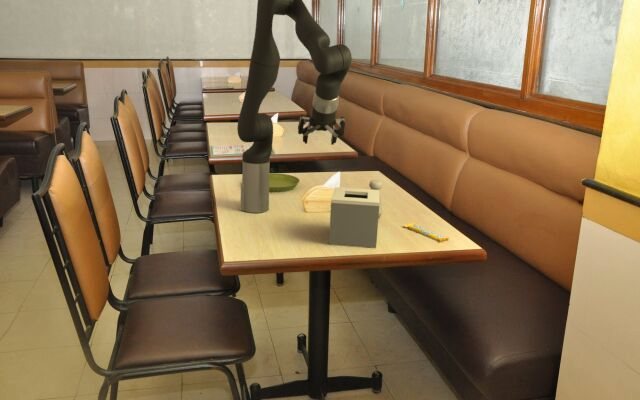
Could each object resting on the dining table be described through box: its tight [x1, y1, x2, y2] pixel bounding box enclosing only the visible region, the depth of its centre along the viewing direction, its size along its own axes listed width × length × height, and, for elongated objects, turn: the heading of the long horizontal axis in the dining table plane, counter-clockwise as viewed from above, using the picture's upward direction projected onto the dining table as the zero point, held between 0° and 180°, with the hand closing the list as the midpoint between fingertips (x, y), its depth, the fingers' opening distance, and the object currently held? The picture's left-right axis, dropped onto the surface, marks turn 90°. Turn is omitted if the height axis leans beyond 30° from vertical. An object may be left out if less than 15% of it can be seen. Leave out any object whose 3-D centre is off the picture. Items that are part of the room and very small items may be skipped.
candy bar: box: [403, 222, 450, 243], centre depth 187 cm, size 17×4×2 cm, turn 35°
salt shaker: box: [368, 179, 383, 220], centre depth 199 cm, size 6×6×13 cm
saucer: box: [269, 172, 300, 193], centre depth 234 cm, size 21×21×3 cm
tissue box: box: [328, 186, 380, 249], centre depth 179 cm, size 14×14×14 cm
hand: (318, 142), depth 187 cm, fingers open, 8 cm apart
